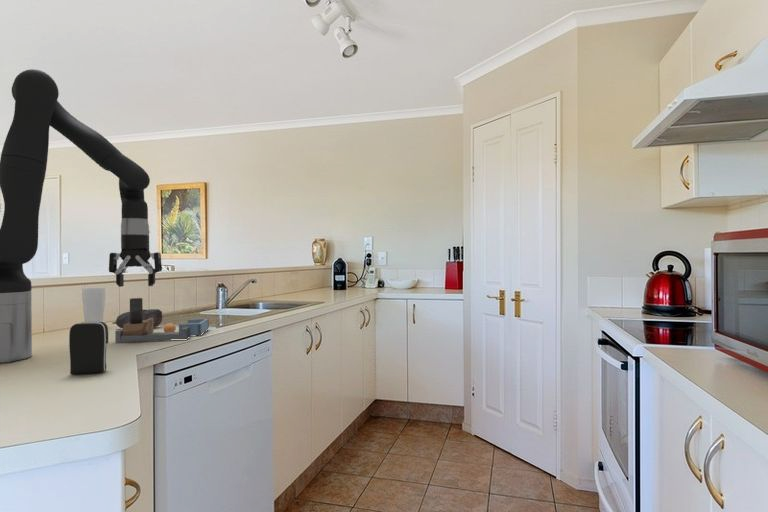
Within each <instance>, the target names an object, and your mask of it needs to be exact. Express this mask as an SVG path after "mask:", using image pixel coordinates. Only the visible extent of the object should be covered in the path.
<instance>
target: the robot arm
mask: <svg viewBox="0 0 768 512" xmlns="http://www.w3.org/2000/svg"><path fill="white" fill-rule="evenodd" d="M11 94H12V95H11V96H12V98H13V100H14V112H13V117H12V121H11V124H10V126H9V129H8V132H7V134H6V137H5V141H4V143H3V146H2V151H1V155H0V191H1V194H2V197H3V204H4V206H3V207H4V209H3V216H2V222H1V225H0V363H1V364H2V363H10V362H14V361H15V362H16V361H21V360H24V359H28V358H31V357H32V356H33V338H32V336H33V334H32V333H33V326H32V325H33V323H32V315H33V314H32V281H31V279H30V278H29V277H27V276H26V274H25V272H24V267H23V266H24V264H27V263H29V262H30V261H31V260H32V259H33V258H34V257H35V255H36V253H37V251H38V247H39V246H38V245H39V221H40V220H39V215H40V208H41V202H42V196H43V189H44V184H45V178H46V174H47V165H48V155H49V144H50V143H49V140H50V127H51V128H52V129H54V130H56V131H57V132H58V133H60V134H61V135H62V136H63V137H65V138H66V139H67V140H69V142H71V143H72V144H73V145H75V146H76V147H77V148H79V150H81V152H82V153H84V154H85V155H86V156H87V157H88V158H90V159H91V160H92V161H93V162H95V164H96V165H98V166H99V167H100V168H102V169H103V170H105V171H108V172H111V173H112V174H113V175H114V176H116V177H117V178H118V189H119V196H120V200H121V223H120V248H121V251H120V253H117V252H110V253H109V258H108V260H109V261H108V272H109V273H113V274H115V284H116V285H117V286H118V287H124V285H125V284H124V281H125V278H124V277H125V275H124V272H125V271H126V270H127V269H128V268H129V267H130V268H131V267H133V268H134V267H143V268H144V269H145V270H146V271H147V273H149V274H147V278H148V279H147V282H148V284H147V285H148V287H153V286H154V285H155V283H156V274H157V273H159V272H162V271H163V269H162V268H163V267H162V255H161V252H150V226H149V225H150V224H149V209H148V208H149V207H148V203H147V202H146V201H145V189H147V188H148V187H149V186H150V181H151V179H150V176H149V174H148V173H147V171H146V170H145V168H143V167H141V166H140V164H138V163H136V162H135V161H133V160H132V159H130V158H129V157H128V156H126V155H125V154H123V153H122V152H121V151H120V150H119V149H118V148H117V147H115V146H114V145H113V143H111V142H110V141H109V140H108V139H107V138H106V137H104V136H103V135H102V134H101V133H100V132H98V131H97V130H95V129H93V128H92V127H89V126H88V125H86V124H85V123H83V122H81V121H80V120H78V119H77V118H76V117H75V116H74V115H72V114H71V113H70V112H69V111H68V110H67V109H65V108H64V107H63V105H62V104H61V103H60V102H59V101H58V98H59V96H60V95H59V94H60V93H59V87H58V85H57V83H56V81H55V80H54V79H53V78H52V77H51V76H50V75H49V74H48V73H46V72H45V71H42V70H39V69H33V68H31V69H26V70H23V71H21V72H20V73H18V75H16V77H15V78H14V80H13V82H12V86H11ZM150 258H152V260H153V261H154V267H153V265H152V263H150V262H149V260H150ZM119 259H121V260H122V262H121V263H120V264H119V265H118V260H119ZM118 266H119V267H118Z"/></svg>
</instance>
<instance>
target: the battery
mask: <svg viewBox="0 0 768 512" xmlns="http://www.w3.org/2000/svg"><path fill="white" fill-rule="evenodd" d="M68 336H69V339H68V342H69V344H68V345H69V346H68V347H69V348H68V349H69V360H70V361H69V362H70V363H69V364H70V365H69V367H70V368H69V370H70V371H69V373H70V375H90V374H101V373H104V372H105V371H106V370H107V359H106V357H107V355H106V354H107V344H109V328H108V325H107V324H106V322H104V321H103V322H85V321H83V322H78V323H74V324H73V325H72V326H71V327H70V328H69V335H68Z"/></svg>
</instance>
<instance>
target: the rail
mask: <svg viewBox="0 0 768 512" xmlns="http://www.w3.org/2000/svg"><path fill="white" fill-rule="evenodd" d="M114 334H115V335H114V337H115V340H114V341H115V344H116V343H117V344H118V343H119V344H120V343H140V342H139V341H150V342H156V341H155V340H171V339H187V338H188V337H190V338H191V336H190V327H184V328H182V329H181V332H179V331H174V332H163V331H158V332H152V333H144V334H142V335H123V328H120V329H118V330H116V331H115V333H114ZM187 340H188V339H187Z"/></svg>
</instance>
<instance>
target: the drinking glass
mask: <svg viewBox="0 0 768 512" xmlns="http://www.w3.org/2000/svg"><path fill="white" fill-rule="evenodd" d="M81 299H82V300H81V301H82V310H83V318H84V322H104V317H105V315H104V314H105V306H106V305H105V304H106V287H105V286H84V287H82V294H81Z"/></svg>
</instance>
